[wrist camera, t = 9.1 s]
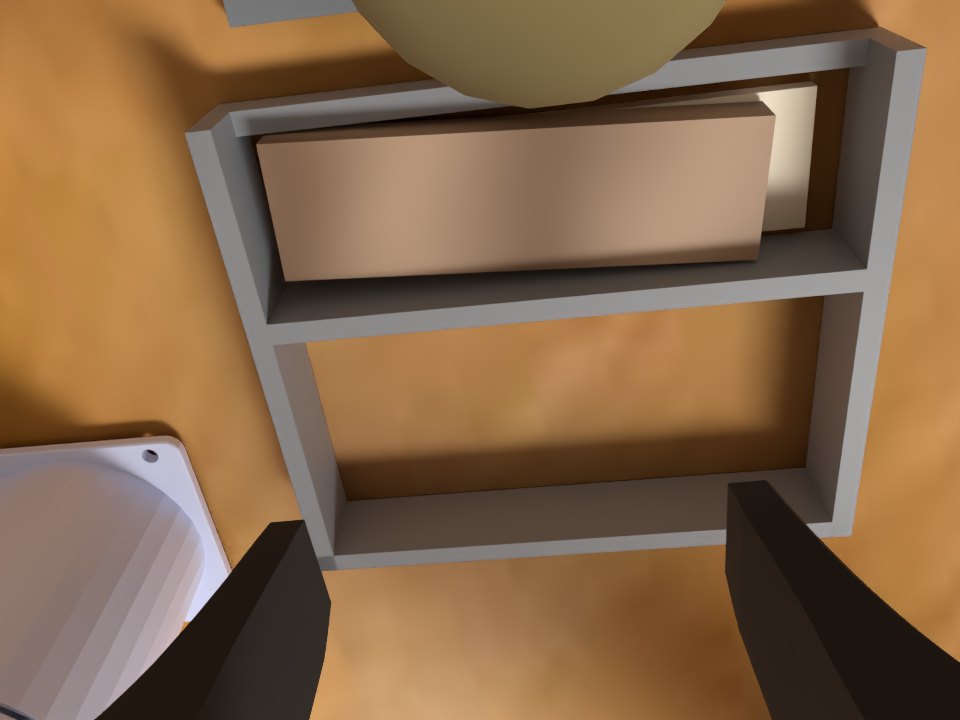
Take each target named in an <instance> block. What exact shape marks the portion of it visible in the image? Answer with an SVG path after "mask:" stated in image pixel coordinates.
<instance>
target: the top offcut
mask: <svg viewBox="0 0 960 720" xmlns="http://www.w3.org/2000/svg"><path fill="white" fill-rule="evenodd" d="M775 120H776V115H775V114H774V113H773V112H772V111H771V109H770V108H769V107H768V106H767V105H766V104H765V103H764V102H763V101H753V102H736V103H718V104H701V105H683V106H666V107H648V108H631V109H613V110H596V111H578V112H561V113H543V114H526V115H508V116H491V117H473V118H456V119H438V120H421V121H403V122H386V123H368V124H351V125H338V126H329V127H320V128H311V129H303V130H294V131H285V132H276V133H267V134H264V135H263V137H262V138H261V139H260V140H259V142H258V143H257V144H256V147H257V151H258V156H259V161H260V165H261V170H262V174H263V179H264V184H265V188H266V193H267V198H268V202H269V207H270V212H271V216H272V221H273V226H274V230H275V235H276V240H277V244H278V249H279V254H280V258H281V263H282V268H283V272H284V277H285V281H303V280H325V279H347V278H369V277H391V276H413V275H435V274H457V273H479V272H501V271H523V270H545V269H567V268H589V267H611V266H632V265H654V264H676V263H698V262H720V261H742V260H758V255H759V247H760V239H761V231H762V223H763V215H764V207H765V199H766V191H767V183H768V175H769V168H770V160H771V152H772V144H773V136H774V128H775Z"/></svg>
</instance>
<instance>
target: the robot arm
mask: <svg viewBox="0 0 960 720" xmlns="http://www.w3.org/2000/svg"><path fill="white" fill-rule="evenodd" d="M147 450H152V451H154V452H156V453H157V455H153V454H151V453H149V452H148V451H147ZM725 574H726V578H727V582H728V586H729V591H730V595H731V599H732V603H733V607H734V611H735V615H736V619H737V623H738V627H739V631H740V634H741V636H742V639H743V642H744V645H745V647H746V650H747V653H748V656H749V658H750V661H751V664H752V666H753V669H754V672H755V675H756V677H757V680H758V683H759V685H760V688H761V691H762V693H763V696H764V699H765V701H766V704H767V707H768V709H769V712H770V715H771V717H772V720H960V662H958V661H957V660H956V659H954V658H953V657H952V656H950V655H949V654H948V653H946V652H945V651H944V650H942V649H941V648H940V647H939V646H937V645H936V644H935V643H933V642H932V641H931V640H930V639H928V638H927V637H926V636H924V635H923V634H922V633H921V632H919V631H918V630H917V629H916V628H915V627H913V626H912V625H911V624H910V623H909V622H907V621H906V620H905V619H904V618H903V617H901V616H900V615H899V614H898V613H897V612H896V611H894V610H893V609H892V608H891V607H890V606H889V605H888V604H887V603H886V602H884V601H883V600H882V599H881V598H880V597H879V596H878V595H877V594H875V593H874V592H873V591H872V590H871V589H870V588H869V587H868V586H867V585H866V584H865V583H864V582H863V581H861V580H860V579H859V578H858V577H857V576H856V575H855V574H854V573H853V572H852V571H851V570H850V569H849V568H848V567H847V566H846V565H845V564H844V563H843V562H842V561H841V560H840V559H839V558H838V557H837V556H836V555H835V554H834V553H833V552H832V551H831V550H830V549H829V548H828V547H827V546H826V545H825V544H824V543H823V542H822V541H821V540H820V539H819V538H818V536H817V535H816V534H815V533H814V532H813V531H812V530H811V529H810V528H809V527H808V526H807V525H806V523H805V522H804V521H803V520H802V519H801V518H800V517H799V516H798V515H797V514H796V512H795V511H794V510H793V509H792V508H791V507H790V506H789V504H788V503H787V502H786V501H785V500H784V499H783V498H782V496H781V495H780V494H779V493H778V492H777V490H776V489H775V488H774V487H773V486H772V485H771V484H770V483H769V482H768V481H766V480H759V481H747V482H735V483H728V493H727V527H726V562H725ZM330 608H331V600H330V597H329V594H328V591H327V588H326V585H325V582H324V579H323V576H322V573H321V569H320V566H319V563H318V560H317V557H316V554H315V551H314V548H313V545H312V542H311V538H310V535H309V532H308V529H307V526H306V523H305V520H294V521H282V522H271V523H270V524H269V525H268V526H267V527H266V529H265V530H264V531H263V532H262V533H261V535H260V536H259V537H258V538H257V540H256V541H255V542H254V543H253V545H252V546H251V547H250V549H249V550H248V551H247V552H246V554H245V555H244V556H243V558H242V559H241V560H240V561H239V563H238V564H237V565H236V567H235V568H234V569H233V570H231V568H230V565H229V562H228V560H227V557H226V554H225V552H224V549H223V547H222V544H221V541H220V539H219V536H218V534H217V531H216V528H215V526H214V523H213V520H212V518H211V515H210V513H209V510H208V507H207V505H206V502H205V500H204V497H203V494H202V492H201V489H200V486H199V484H198V481H197V479H196V476H195V473H194V471H193V468H192V466H191V463H190V460H189V458H188V455H187V452H186V450H185V447H184V446H183V444H182V442H180V441H179V440H178V439H177V438H174V437H172V436H153V437H140V438H128V439H116V440H104V441H92V442H79V443H67V444H55V445H43V446H31V447H18V448H6V449H0V720H309V718H310V714H311V710H312V707H313V703H314V699H315V695H316V691H317V687H318V683H319V679H320V674H321V670H322V666H323V662H324V657H325V650H326V642H327V635H328V626H329V617H330ZM188 621H191V622H190V623H189V624H188V625H187V626H186V627H185V629H184V630H183V631H182V632H181V633H180V630H181V628H182V626H183V623H184V622H188ZM179 633H180V634H179Z"/></svg>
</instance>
